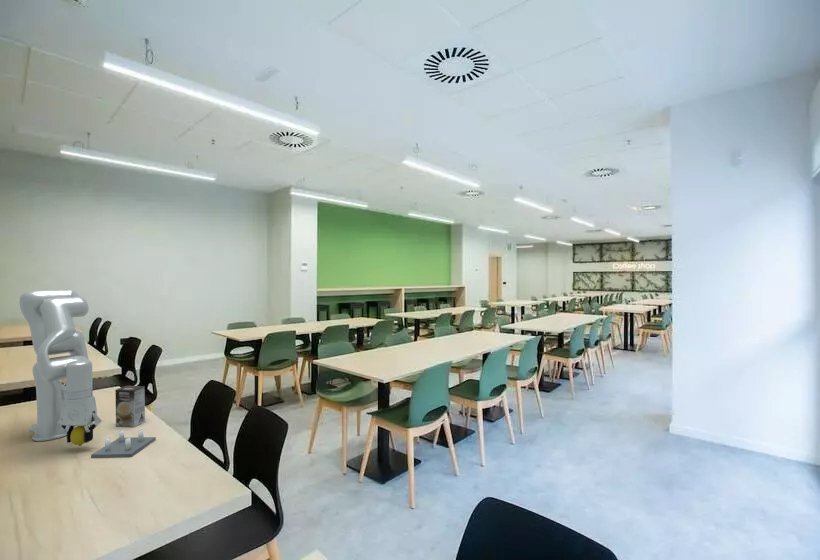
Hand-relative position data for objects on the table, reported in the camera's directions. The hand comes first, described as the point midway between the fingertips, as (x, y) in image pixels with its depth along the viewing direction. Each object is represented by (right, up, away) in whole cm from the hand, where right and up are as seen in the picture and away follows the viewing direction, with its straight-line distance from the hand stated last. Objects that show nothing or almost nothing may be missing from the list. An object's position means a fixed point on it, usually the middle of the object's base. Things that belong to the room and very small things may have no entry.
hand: (80, 440), depth 144 cm
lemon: (0, -2, 0) cm, 2 cm away
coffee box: (+2, -3, +24) cm, 24 cm away
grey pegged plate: (+17, -3, 0) cm, 17 cm away
